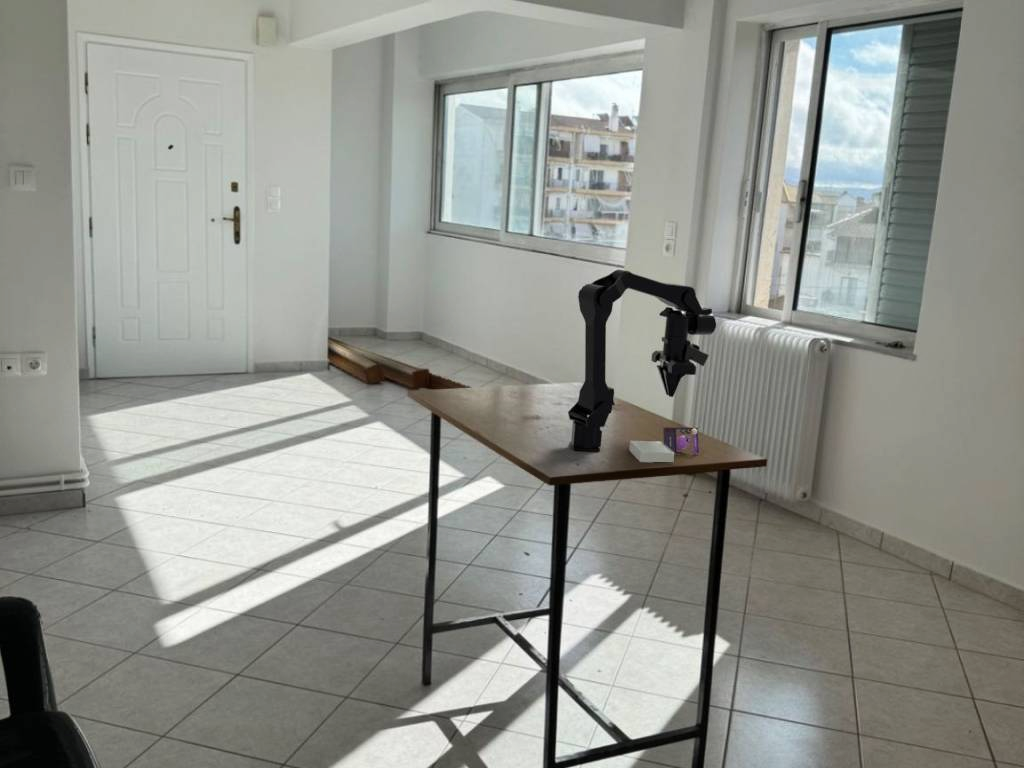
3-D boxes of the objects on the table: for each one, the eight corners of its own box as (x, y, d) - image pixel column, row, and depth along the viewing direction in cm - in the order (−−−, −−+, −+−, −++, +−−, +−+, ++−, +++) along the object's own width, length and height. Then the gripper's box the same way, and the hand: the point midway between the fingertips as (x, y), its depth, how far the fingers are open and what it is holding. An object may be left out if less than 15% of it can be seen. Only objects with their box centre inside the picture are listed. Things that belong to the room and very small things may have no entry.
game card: (665, 427, 229) (699, 427, 231) (656, 429, 234) (689, 429, 236) (666, 455, 228) (700, 454, 230) (657, 456, 233) (690, 456, 235)
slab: (640, 462, 221) (641, 451, 220) (629, 450, 230) (630, 440, 230) (673, 463, 222) (674, 452, 221) (661, 451, 232) (662, 441, 231)
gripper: (719, 342, 229) (712, 405, 232) (695, 331, 247) (688, 389, 250) (675, 340, 227) (668, 403, 230) (653, 328, 245) (647, 387, 248)
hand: (669, 395), depth 240 cm, fingers closed
